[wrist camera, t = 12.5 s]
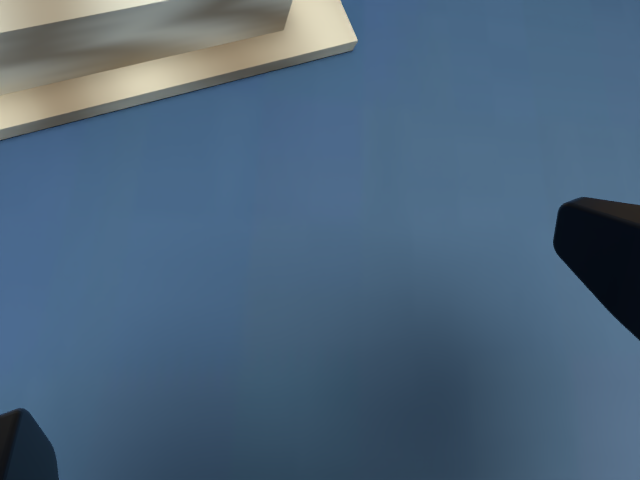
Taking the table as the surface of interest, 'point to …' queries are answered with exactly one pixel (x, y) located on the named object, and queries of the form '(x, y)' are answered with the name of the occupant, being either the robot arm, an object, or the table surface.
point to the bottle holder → (147, 51)
